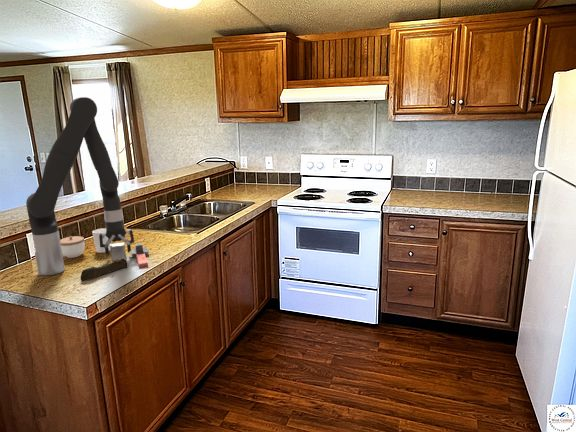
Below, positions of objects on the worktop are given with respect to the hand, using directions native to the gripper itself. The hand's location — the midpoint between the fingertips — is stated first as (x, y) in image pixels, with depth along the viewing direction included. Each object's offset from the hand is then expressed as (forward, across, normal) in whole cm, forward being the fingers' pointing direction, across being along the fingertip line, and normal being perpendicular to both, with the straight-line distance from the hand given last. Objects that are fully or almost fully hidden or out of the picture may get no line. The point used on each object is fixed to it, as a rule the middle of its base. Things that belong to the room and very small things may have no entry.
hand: (118, 253), depth 181 cm
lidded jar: (+2, -19, +13) cm, 23 cm away
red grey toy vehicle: (+2, +9, -7) cm, 11 cm away
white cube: (+2, 0, 0) cm, 2 cm away
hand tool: (+2, -6, -18) cm, 19 cm away
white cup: (+2, -6, +14) cm, 15 cm away
